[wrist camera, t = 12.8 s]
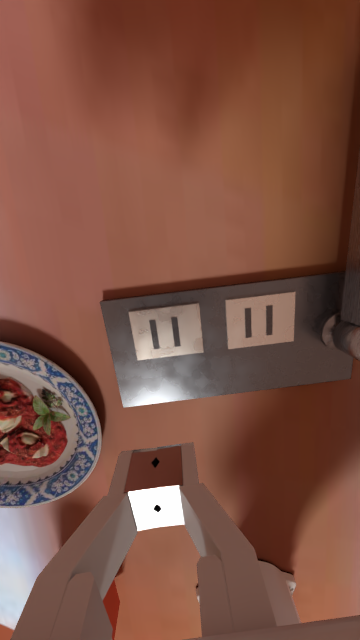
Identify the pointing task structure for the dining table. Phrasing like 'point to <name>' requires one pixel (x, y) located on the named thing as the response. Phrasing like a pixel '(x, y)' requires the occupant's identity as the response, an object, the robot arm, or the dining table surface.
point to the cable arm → (351, 286)
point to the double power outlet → (227, 339)
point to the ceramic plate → (42, 430)
